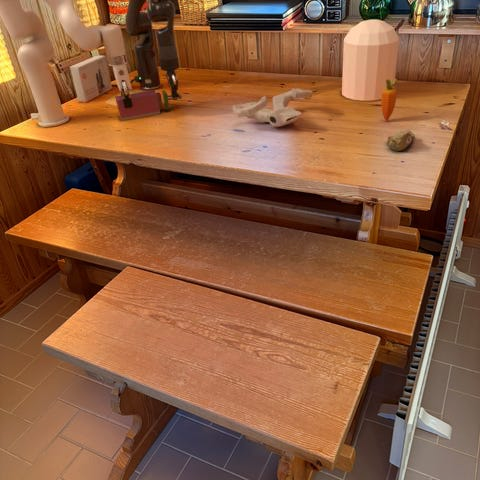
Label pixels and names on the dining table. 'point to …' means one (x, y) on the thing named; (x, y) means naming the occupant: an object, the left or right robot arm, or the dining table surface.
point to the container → (369, 60)
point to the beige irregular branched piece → (280, 112)
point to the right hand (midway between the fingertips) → (175, 99)
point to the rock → (400, 140)
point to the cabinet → (139, 105)
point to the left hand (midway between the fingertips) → (127, 104)
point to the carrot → (388, 99)
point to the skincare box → (91, 78)
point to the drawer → (166, 99)
